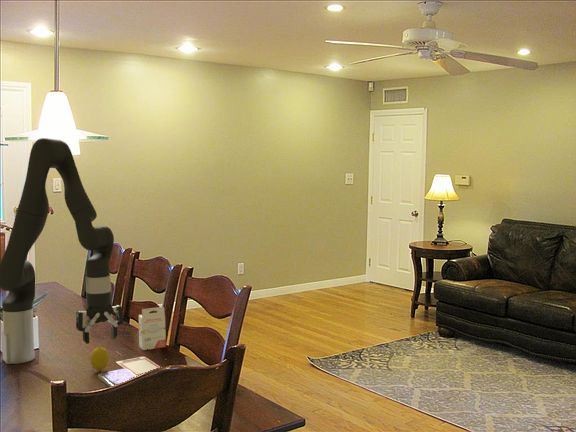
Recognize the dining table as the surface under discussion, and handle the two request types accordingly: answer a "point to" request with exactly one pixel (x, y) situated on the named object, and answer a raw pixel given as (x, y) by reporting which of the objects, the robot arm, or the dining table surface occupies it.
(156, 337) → the ink cartridge box
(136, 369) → the marked sheet
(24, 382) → the dining table surface
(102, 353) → the lemon
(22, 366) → the dining table surface
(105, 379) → the ink pad
